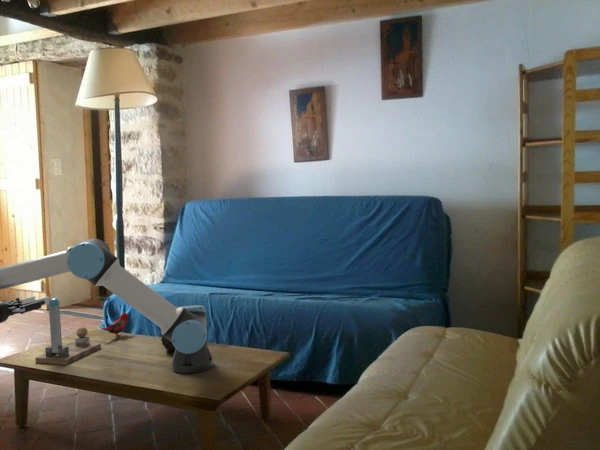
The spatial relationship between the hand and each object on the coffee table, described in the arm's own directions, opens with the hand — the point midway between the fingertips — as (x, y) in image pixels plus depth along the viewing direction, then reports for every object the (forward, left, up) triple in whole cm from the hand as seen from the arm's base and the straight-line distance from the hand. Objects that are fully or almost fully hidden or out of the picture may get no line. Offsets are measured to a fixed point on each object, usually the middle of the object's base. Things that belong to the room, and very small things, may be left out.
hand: (41, 299), depth 208 cm
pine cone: (-20, -48, -26) cm, 58 cm away
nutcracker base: (+7, -12, -26) cm, 29 cm away
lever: (+4, -6, -22) cm, 24 cm away
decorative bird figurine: (+18, -36, -26) cm, 48 cm away
